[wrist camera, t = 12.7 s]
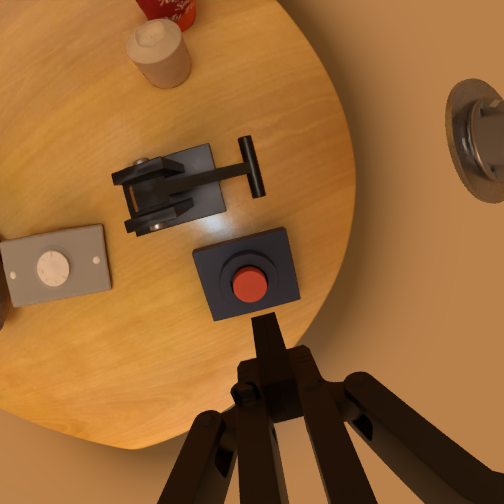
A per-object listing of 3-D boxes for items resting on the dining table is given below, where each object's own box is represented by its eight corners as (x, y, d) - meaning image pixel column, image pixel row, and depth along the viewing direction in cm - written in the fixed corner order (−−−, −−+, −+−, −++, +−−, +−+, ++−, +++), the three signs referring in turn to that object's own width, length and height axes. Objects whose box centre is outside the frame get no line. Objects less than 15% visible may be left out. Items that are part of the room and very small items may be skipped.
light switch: (112, 292, 33) (12, 311, 25) (108, 279, 38) (20, 295, 30) (102, 225, 31) (-4, 243, 23) (100, 220, 36) (8, 236, 28)
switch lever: (244, 138, 27) (256, 133, 25) (259, 196, 29) (271, 194, 27) (123, 167, 22) (125, 162, 20) (141, 233, 24) (145, 234, 22)
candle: (139, 80, 28) (110, 49, 19) (163, 45, 27) (143, 6, 18) (176, 95, 29) (156, 65, 20) (200, 60, 28) (190, 20, 19)
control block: (283, 226, 34) (288, 231, 31) (297, 294, 36) (304, 305, 33) (193, 249, 34) (189, 257, 31) (214, 315, 36) (213, 328, 33)
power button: (261, 262, 32) (262, 267, 30) (268, 291, 33) (270, 297, 31) (229, 270, 32) (229, 275, 30) (237, 299, 33) (238, 306, 31)
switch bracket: (209, 144, 31) (198, 125, 20) (226, 210, 33) (224, 225, 22) (122, 172, 31) (74, 170, 20) (139, 235, 33) (99, 261, 22)
